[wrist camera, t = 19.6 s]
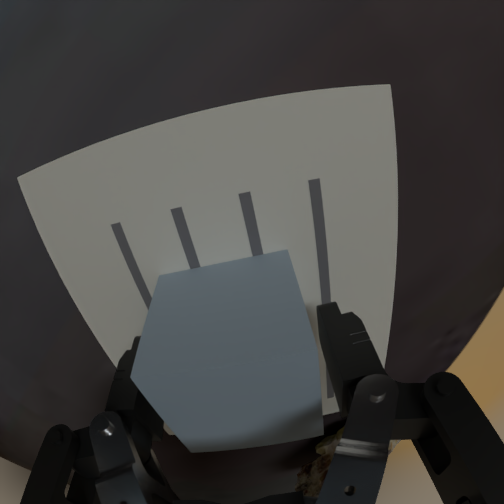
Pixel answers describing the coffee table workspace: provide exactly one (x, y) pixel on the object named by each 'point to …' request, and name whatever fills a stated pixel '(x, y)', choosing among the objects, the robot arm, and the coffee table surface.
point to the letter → (230, 208)
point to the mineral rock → (322, 465)
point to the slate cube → (231, 356)
